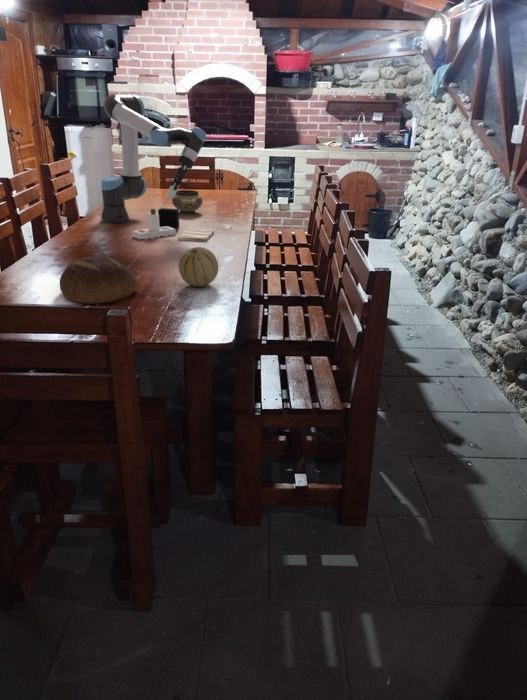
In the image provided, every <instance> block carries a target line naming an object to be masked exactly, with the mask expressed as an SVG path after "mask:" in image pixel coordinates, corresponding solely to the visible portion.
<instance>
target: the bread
mask: <svg viewBox="0 0 527 700" xmlns="http://www.w3.org/2000/svg"><path fill="white" fill-rule="evenodd" d="M138 286H139V285H138V280H137V278H136V275H135V274H134V273H133V272H132V271H131V270H130V269H129V268H128V267H127V266H126V265H124V263H122V262H120V261H118V260H117V259H114V258H111V257H106V256H103V255H101V256H100V255H94V256H88V257H84V258H81V259H79V260H78V259H77V260H76V261H74V262H72V263H71V264H69V265H68V266H66V268H65V269H64V270H63V272H62V273H61V276H60V277H59V287H60V291H61V293H62V295H63V296H64V298H65V299H67V300H69V301H71V302H74V303H78V304H79V303H80V304H88V305H89V304H92V305H93V304H106V303H111V302H115V301H119V300H123V299H125V298H127V297H129V296H131V295H132V294H133V293H134V292H135V291H136V290H137V289H138Z"/></svg>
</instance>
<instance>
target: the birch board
mask: <svg viewBox="0 0 527 700" xmlns="http://www.w3.org/2000/svg"><path fill="white" fill-rule="evenodd" d="M214 234H215V231H214V230H210V229H209V230H208V229H192V228H191V229H188V228H187V229H186V230H185V231H184V232H182V233H180V235H179V236H178V237H177V240H178V241H184V240H189V241H188V242H202V241H206V242H207V241H208V240H209V239H211V237H213V235H214Z"/></svg>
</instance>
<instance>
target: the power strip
mask: <svg viewBox="0 0 527 700" xmlns="http://www.w3.org/2000/svg"><path fill="white" fill-rule="evenodd" d="M177 232H178V233H179V229H178V228H177V229H174V228H171V227H169V226H164V227H160V231H153V232H152V231H150V230H149V228H144V229H135V230H132V238H134V237H135V239H137V238H138V239H137V240H139V239H145V240H149V239H148V238H151V239H155V238H154V237H158V238H161V237H160V236H164V237H169V236H168V235H171V236H175V235H174V234H176V233H177Z"/></svg>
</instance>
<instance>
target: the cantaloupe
mask: <svg viewBox="0 0 527 700" xmlns="http://www.w3.org/2000/svg"><path fill="white" fill-rule="evenodd" d="M178 271H179V274H180V277H181V279H182V280H183V281H184V282H185V283H186V284H188V285H190V286H192V287H197V288H198V287H205V286H207V285H210V284H211V283H213V281H215V279H216V277H217V275H218V273H219V263H218V260H217V257H216V256H215V254H214V253H213V252H212V251H211V250H210V249H208V248H205V247H201V246H196V247H191V248H189V249H187V250H186V251H184V253H183V254H182V255H181V257H180V258H179V261H178Z"/></svg>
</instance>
